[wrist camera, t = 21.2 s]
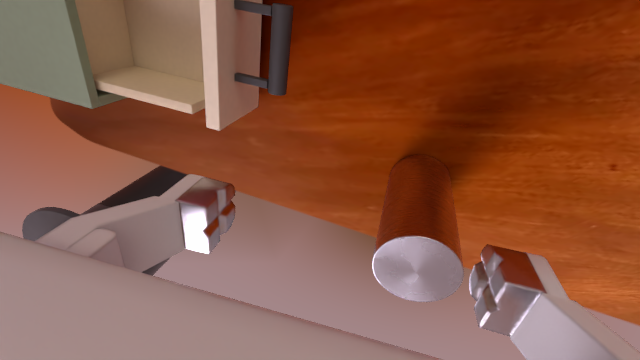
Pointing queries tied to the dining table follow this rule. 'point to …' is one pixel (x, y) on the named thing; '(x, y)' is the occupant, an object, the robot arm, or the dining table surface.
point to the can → (419, 233)
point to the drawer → (187, 52)
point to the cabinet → (47, 52)
